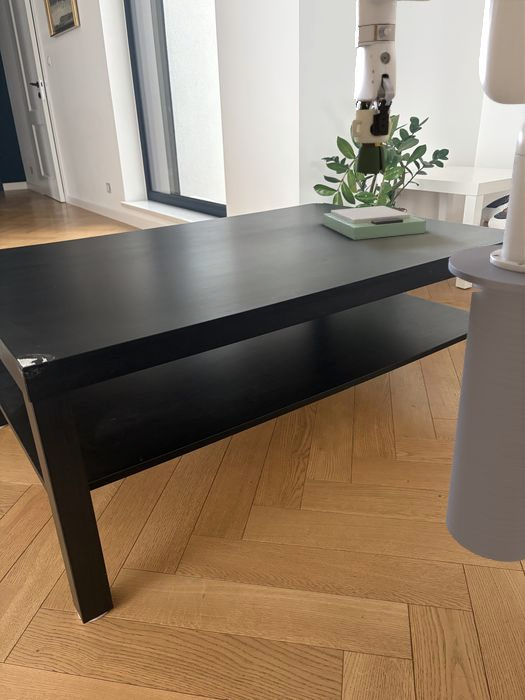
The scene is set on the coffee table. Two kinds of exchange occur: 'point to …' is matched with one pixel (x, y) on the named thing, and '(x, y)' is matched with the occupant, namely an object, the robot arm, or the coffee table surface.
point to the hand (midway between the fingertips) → (371, 134)
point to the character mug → (368, 143)
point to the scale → (373, 222)
